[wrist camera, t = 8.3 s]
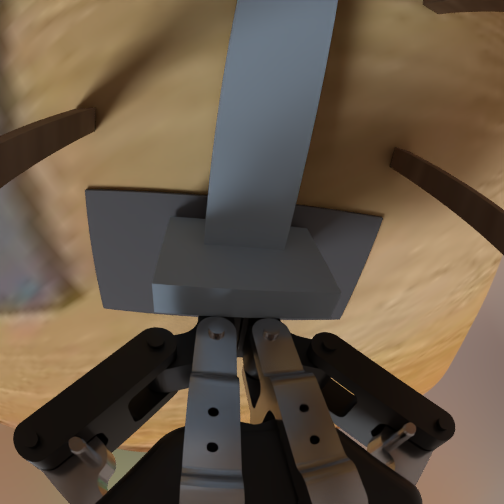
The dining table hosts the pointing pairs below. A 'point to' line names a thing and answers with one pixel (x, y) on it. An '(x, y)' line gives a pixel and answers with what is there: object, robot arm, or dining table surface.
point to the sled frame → (257, 178)
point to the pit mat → (194, 206)
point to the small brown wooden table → (406, 163)
